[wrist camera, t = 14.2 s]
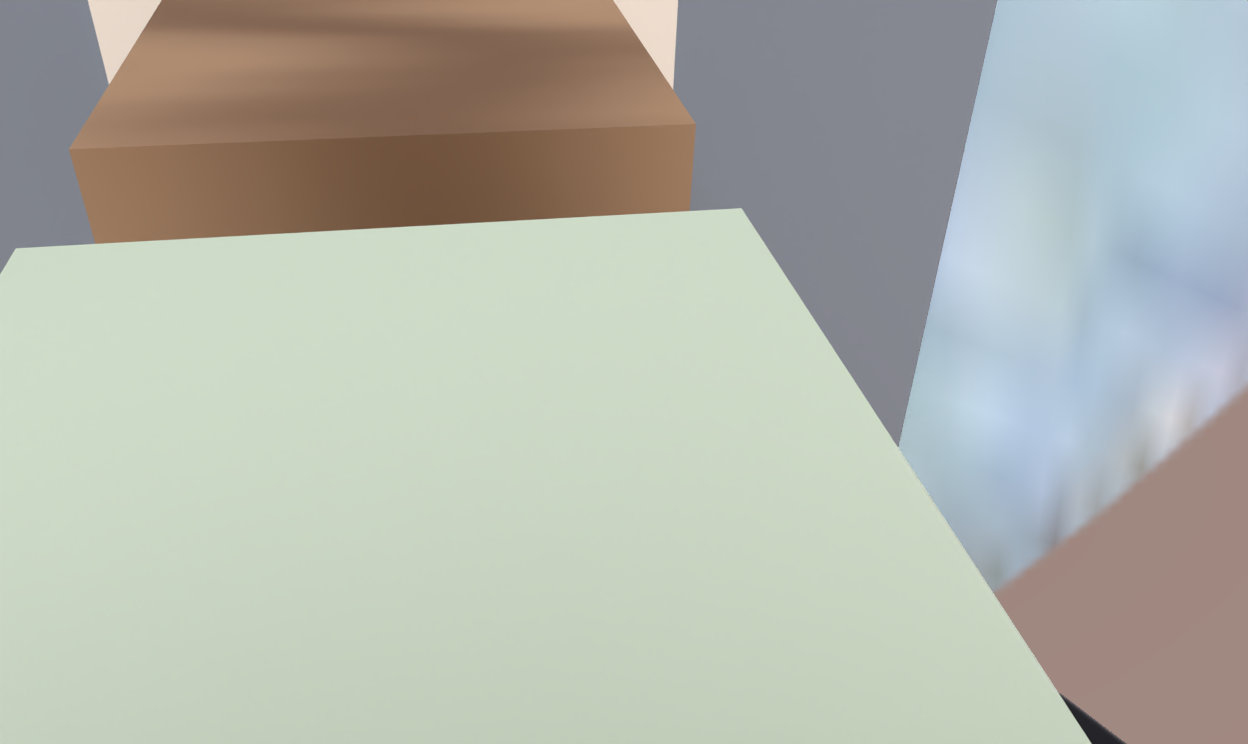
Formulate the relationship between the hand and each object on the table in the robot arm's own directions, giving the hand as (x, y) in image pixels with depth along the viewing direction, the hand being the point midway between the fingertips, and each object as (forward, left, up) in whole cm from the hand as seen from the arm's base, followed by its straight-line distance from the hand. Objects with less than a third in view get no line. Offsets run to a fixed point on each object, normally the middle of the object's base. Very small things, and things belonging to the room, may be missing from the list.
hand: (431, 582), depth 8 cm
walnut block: (0, 0, -8) cm, 8 cm away
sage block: (0, 0, -1) cm, 1 cm away
